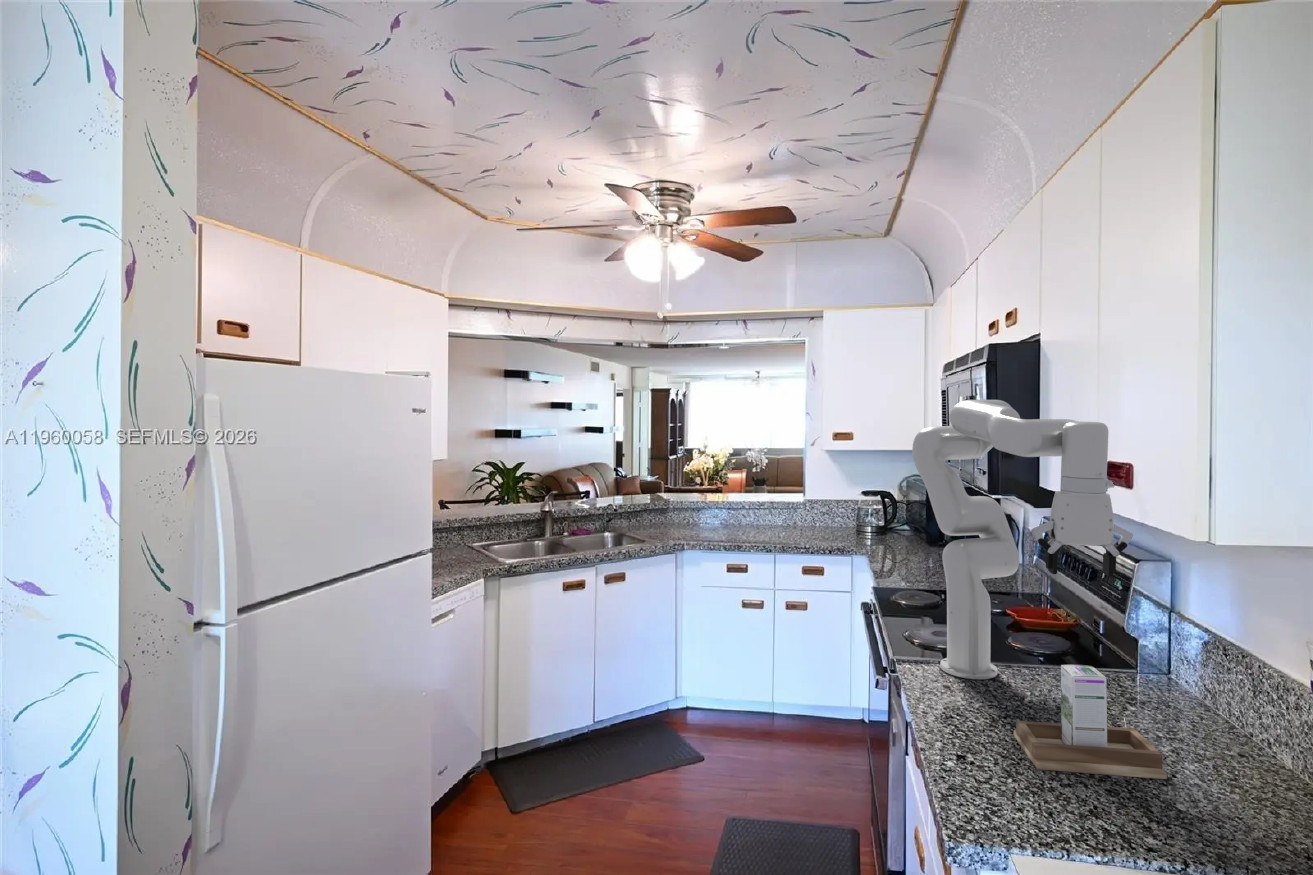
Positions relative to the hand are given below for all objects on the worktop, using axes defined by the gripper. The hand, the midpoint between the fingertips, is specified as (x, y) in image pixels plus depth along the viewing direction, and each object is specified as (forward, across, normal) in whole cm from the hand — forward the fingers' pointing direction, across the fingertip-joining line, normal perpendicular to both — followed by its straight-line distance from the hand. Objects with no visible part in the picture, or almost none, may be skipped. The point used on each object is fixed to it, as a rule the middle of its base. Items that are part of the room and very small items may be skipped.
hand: (1079, 573), depth 134 cm
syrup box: (+29, +3, +12) cm, 32 cm away
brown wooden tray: (+30, +2, +12) cm, 33 cm away
